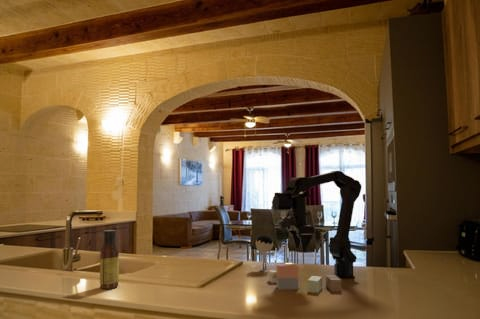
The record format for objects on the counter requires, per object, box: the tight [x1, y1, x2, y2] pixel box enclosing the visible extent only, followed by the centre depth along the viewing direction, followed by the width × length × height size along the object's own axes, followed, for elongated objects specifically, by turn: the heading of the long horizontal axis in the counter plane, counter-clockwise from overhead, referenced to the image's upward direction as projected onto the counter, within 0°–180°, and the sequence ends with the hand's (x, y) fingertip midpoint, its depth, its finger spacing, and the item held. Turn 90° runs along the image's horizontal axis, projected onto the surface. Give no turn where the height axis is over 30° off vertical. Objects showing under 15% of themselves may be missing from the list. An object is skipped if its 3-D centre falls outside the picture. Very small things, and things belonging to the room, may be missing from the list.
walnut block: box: [325, 274, 343, 292], centre depth 122 cm, size 7×4×4 cm, turn 1°
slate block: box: [276, 277, 299, 291], centre depth 123 cm, size 7×4×4 cm, turn 97°
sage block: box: [307, 275, 323, 294], centre depth 121 cm, size 7×4×4 cm, turn 156°
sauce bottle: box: [99, 229, 120, 290], centre depth 123 cm, size 7×6×20 cm
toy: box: [254, 234, 275, 270], centre depth 154 cm, size 9×7×15 cm
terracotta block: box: [276, 263, 299, 279], centre depth 123 cm, size 7×4×4 cm, turn 94°
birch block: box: [268, 269, 277, 284], centre depth 133 cm, size 7×4×4 cm, turn 107°
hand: (300, 250), depth 134 cm, fingers open, 9 cm apart
